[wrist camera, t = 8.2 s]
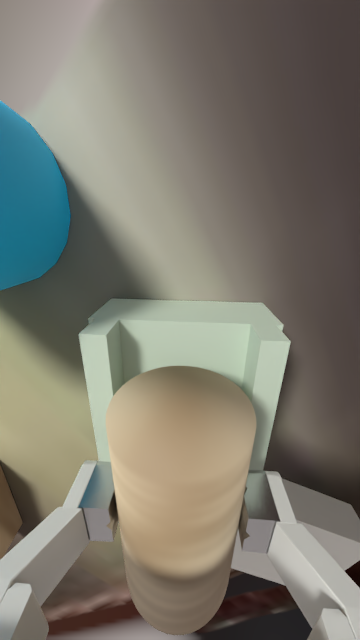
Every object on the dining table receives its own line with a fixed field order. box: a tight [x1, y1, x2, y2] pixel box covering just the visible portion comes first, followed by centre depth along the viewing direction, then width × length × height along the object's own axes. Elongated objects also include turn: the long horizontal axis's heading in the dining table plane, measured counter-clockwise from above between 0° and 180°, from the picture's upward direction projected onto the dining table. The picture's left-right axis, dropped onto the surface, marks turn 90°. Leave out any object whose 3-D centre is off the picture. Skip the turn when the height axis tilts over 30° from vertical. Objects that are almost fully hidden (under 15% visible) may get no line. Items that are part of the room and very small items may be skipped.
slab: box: [231, 478, 360, 585], centre depth 17 cm, size 10×7×3 cm
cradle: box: [78, 298, 291, 531], centre depth 12 cm, size 8×11×4 cm
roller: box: [106, 366, 256, 635], centre depth 8 cm, size 4×8×4 cm, turn 179°
